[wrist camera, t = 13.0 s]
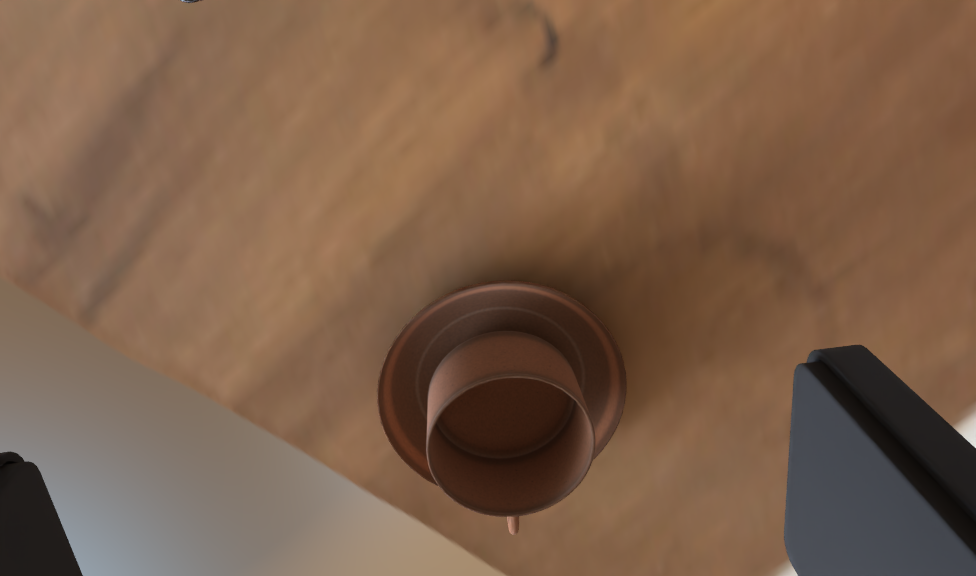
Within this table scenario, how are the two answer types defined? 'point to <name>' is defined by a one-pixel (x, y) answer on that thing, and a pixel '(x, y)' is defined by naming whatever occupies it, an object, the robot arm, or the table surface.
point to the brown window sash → (190, 1)
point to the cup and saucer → (502, 396)
